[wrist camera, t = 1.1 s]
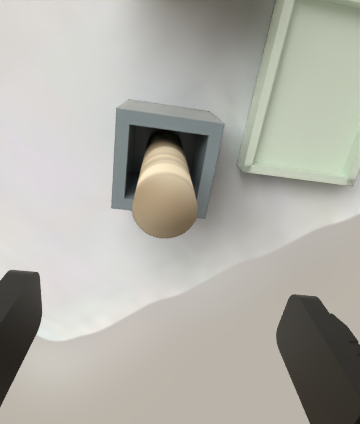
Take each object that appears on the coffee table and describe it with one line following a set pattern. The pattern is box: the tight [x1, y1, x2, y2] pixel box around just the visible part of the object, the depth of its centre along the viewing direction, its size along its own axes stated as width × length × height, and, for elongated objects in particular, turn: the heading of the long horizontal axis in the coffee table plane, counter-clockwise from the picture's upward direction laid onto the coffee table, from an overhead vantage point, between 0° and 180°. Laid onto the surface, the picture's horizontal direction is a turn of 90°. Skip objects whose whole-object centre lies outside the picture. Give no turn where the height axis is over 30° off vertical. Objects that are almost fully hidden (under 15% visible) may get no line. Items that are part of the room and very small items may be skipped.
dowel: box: [132, 129, 198, 238], centre depth 23 cm, size 4×4×15 cm
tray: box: [237, 0, 360, 186], centre depth 28 cm, size 16×12×2 cm
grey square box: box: [111, 99, 224, 219], centre depth 27 cm, size 8×8×8 cm
